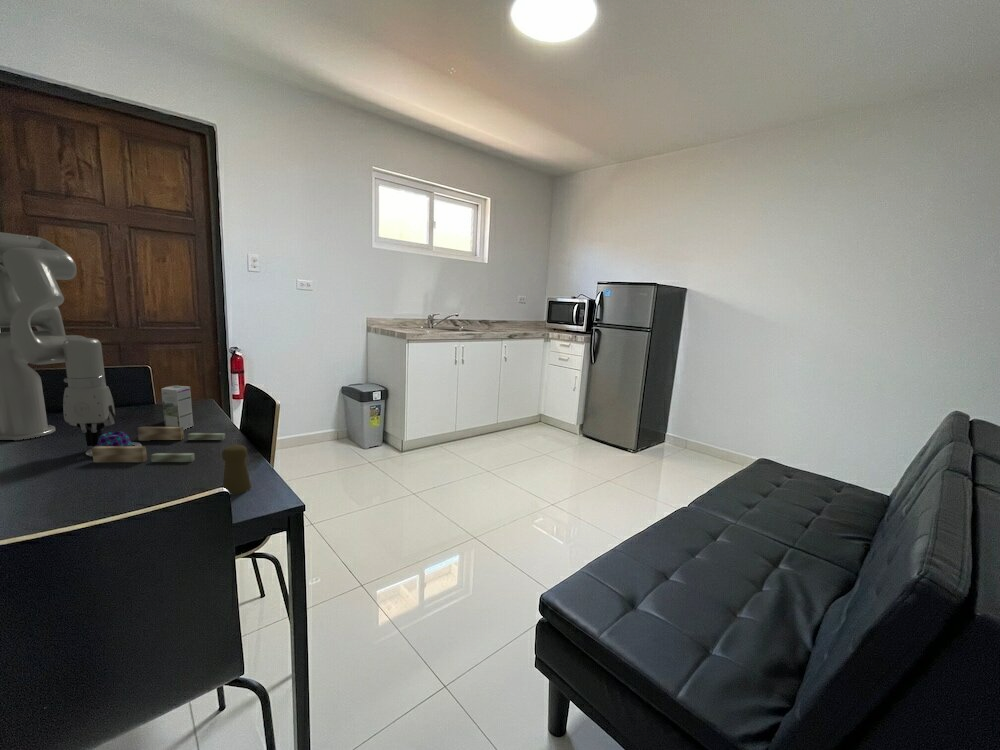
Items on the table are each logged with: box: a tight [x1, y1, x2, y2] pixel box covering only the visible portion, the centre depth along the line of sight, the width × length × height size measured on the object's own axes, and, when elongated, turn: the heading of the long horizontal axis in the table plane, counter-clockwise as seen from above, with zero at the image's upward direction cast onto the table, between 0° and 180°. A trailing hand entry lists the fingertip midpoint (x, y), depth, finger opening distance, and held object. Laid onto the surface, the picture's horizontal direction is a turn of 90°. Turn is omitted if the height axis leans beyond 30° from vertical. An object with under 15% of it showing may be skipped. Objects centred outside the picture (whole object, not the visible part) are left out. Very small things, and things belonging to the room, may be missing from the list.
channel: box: [91, 426, 226, 463], centre depth 123 cm, size 24×19×4 cm
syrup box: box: [160, 385, 194, 431], centre depth 140 cm, size 6×6×14 cm
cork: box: [221, 444, 252, 496], centre depth 101 cm, size 6×6×11 cm
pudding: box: [85, 431, 143, 457], centre depth 120 cm, size 12×12×5 cm
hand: (94, 444), depth 120 cm, fingers closed
